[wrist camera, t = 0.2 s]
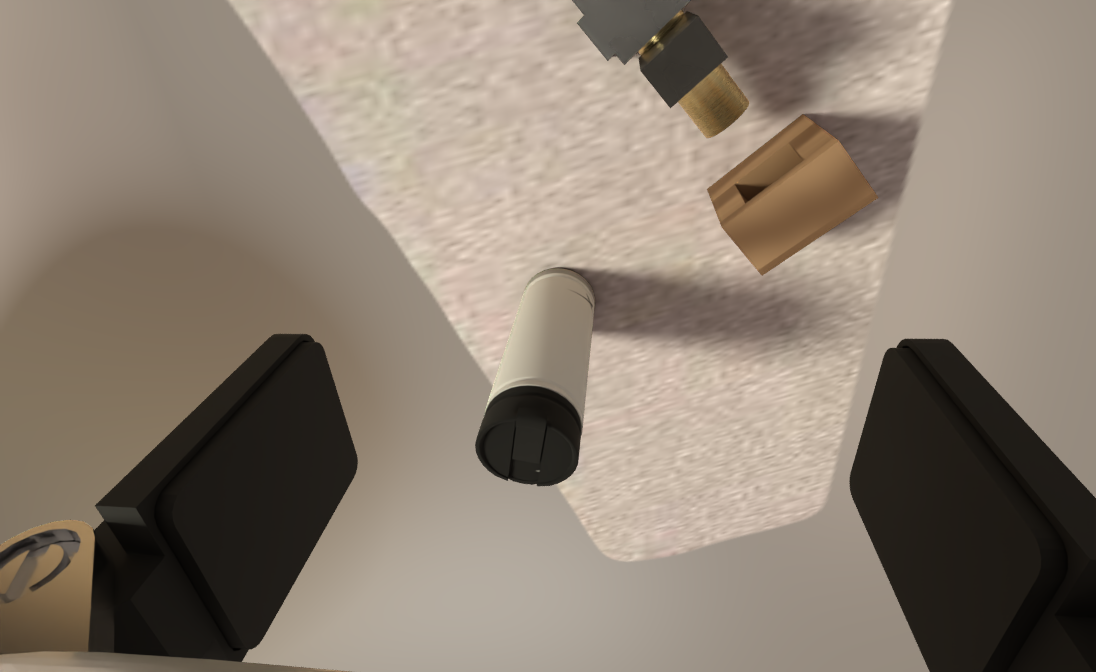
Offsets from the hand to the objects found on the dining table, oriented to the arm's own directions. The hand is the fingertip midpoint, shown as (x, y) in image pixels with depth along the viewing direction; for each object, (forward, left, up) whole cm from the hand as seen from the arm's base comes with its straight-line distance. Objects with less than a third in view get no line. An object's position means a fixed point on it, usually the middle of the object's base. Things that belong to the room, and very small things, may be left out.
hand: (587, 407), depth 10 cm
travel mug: (+10, -15, -36) cm, 40 cm away
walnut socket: (+12, +4, -36) cm, 38 cm away
